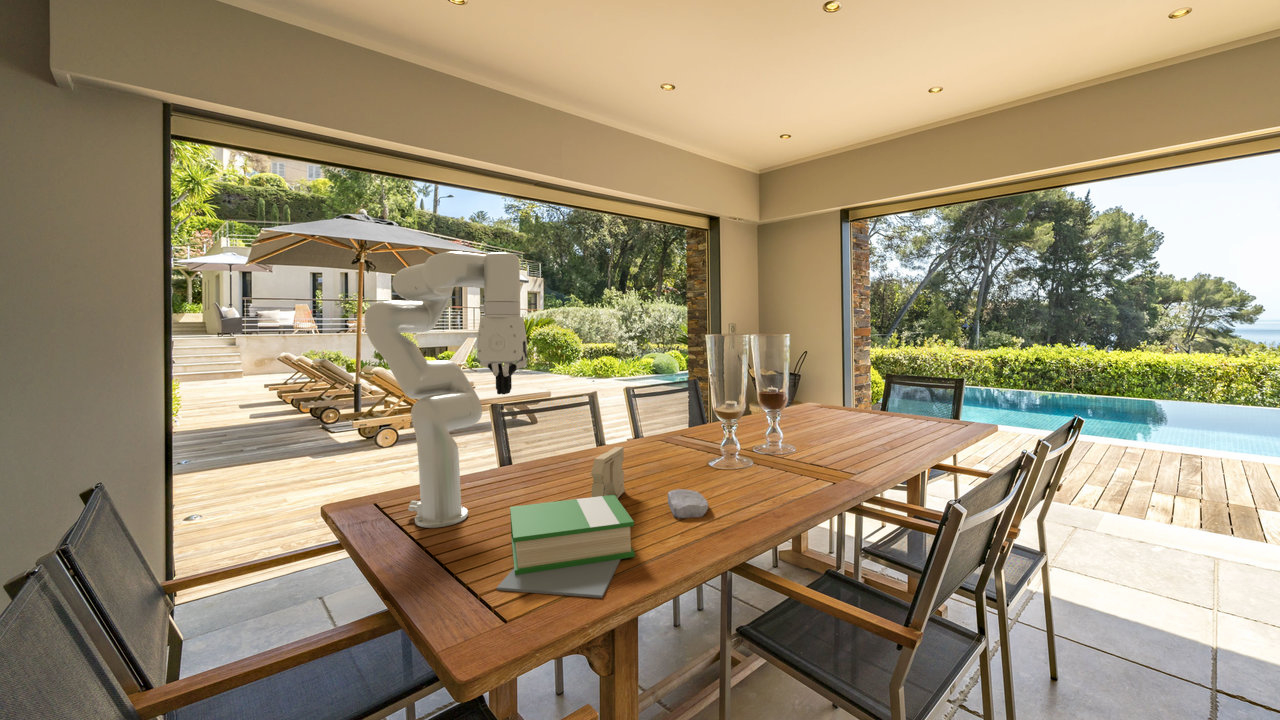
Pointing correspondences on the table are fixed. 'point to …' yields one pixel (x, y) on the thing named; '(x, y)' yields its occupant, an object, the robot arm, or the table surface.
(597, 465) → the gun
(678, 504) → the stone block
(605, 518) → the hardback book
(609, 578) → the mat
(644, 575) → the table surface
